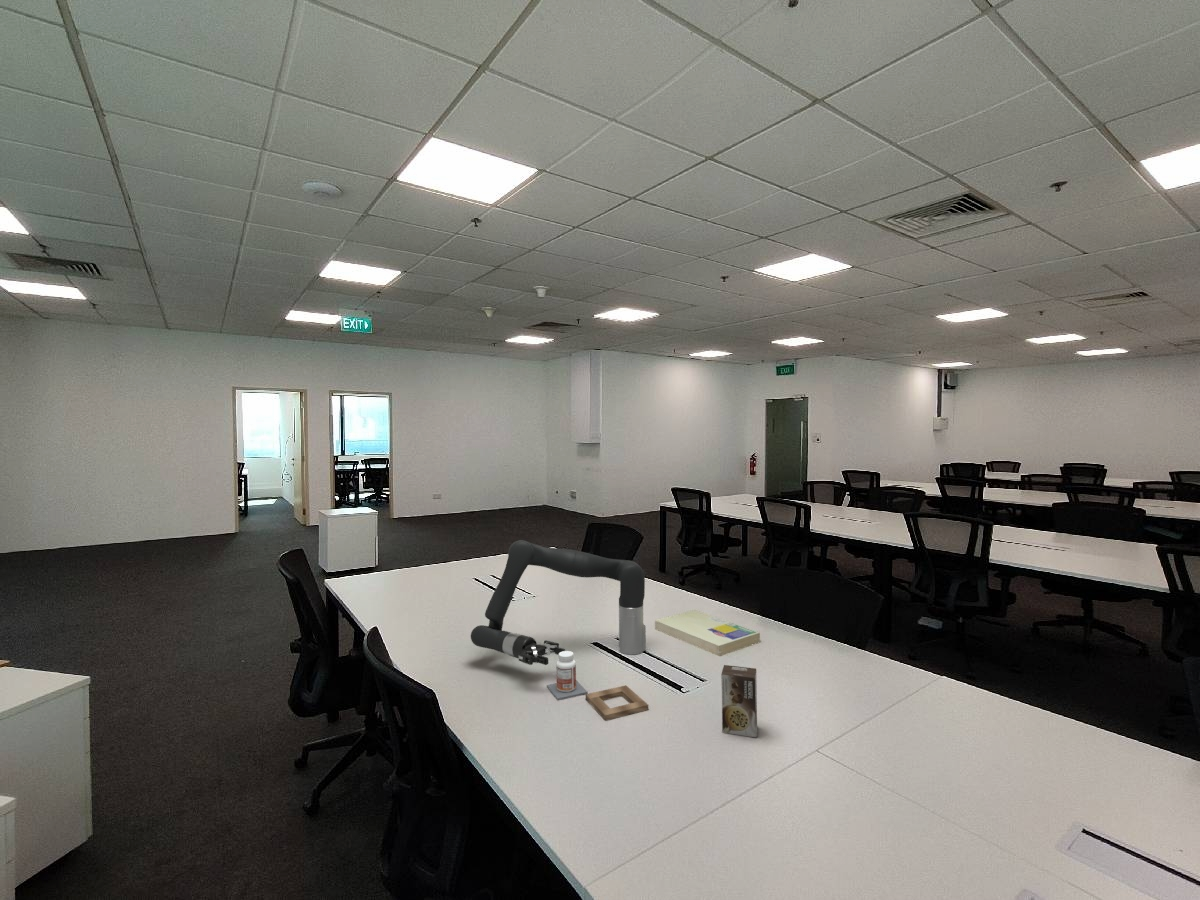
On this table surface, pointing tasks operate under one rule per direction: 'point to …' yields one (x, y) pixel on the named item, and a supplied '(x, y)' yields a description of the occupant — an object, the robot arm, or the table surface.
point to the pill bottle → (566, 672)
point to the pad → (563, 695)
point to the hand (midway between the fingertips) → (556, 657)
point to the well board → (611, 713)
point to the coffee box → (739, 701)
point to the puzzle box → (707, 632)
